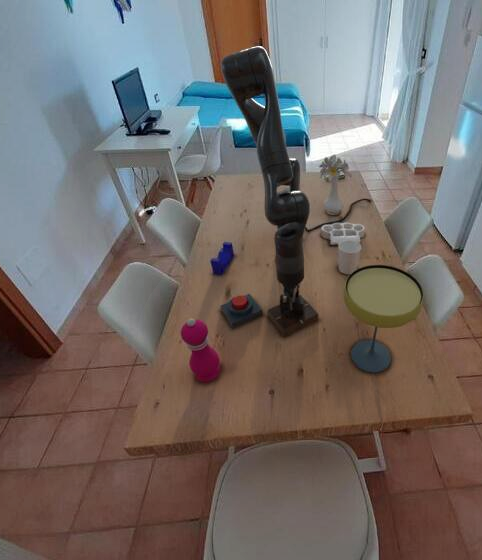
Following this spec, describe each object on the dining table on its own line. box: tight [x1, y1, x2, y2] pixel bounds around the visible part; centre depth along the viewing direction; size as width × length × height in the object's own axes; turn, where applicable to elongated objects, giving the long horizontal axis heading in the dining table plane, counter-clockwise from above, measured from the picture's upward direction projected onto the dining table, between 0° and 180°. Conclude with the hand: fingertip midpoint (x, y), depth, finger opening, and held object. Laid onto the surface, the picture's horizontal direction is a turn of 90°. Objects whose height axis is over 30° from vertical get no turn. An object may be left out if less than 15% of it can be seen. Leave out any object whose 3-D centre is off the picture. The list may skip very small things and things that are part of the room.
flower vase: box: [318, 154, 351, 216], centre depth 145 cm, size 13×18×25 cm
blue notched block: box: [210, 241, 235, 276], centre depth 120 cm, size 12×4×6 cm, turn 169°
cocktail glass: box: [342, 264, 425, 374], centre depth 83 cm, size 18×18×25 cm
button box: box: [219, 293, 264, 329], centre depth 102 cm, size 10×9×4 cm
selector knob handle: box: [280, 297, 306, 316], centre depth 98 cm, size 7×2×5 cm, turn 79°
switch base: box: [266, 294, 319, 338], centre depth 100 cm, size 12×11×3 cm
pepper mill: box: [180, 317, 221, 383], centre depth 80 cm, size 7×7×20 cm
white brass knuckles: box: [320, 222, 366, 246], centre depth 136 cm, size 3×18×15 cm
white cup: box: [337, 240, 362, 275], centre depth 117 cm, size 8×8×10 cm
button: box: [232, 295, 248, 309], centre depth 100 cm, size 4×4×2 cm
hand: (292, 307), depth 98 cm, fingers open, 8 cm apart
